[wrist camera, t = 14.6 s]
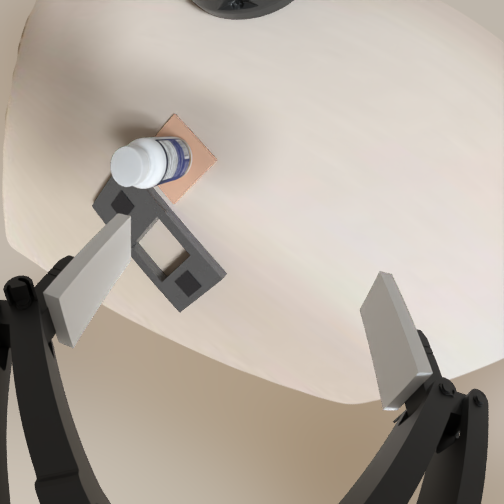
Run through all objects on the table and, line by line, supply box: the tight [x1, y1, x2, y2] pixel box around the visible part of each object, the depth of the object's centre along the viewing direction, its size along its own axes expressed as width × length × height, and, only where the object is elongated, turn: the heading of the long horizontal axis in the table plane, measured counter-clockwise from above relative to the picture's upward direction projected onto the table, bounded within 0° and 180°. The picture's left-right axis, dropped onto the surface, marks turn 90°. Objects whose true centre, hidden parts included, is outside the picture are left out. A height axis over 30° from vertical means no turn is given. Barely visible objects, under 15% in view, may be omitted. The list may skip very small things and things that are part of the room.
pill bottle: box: [110, 136, 192, 189], centre depth 30 cm, size 5×5×10 cm
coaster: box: [155, 114, 217, 204], centre depth 35 cm, size 8×8×1 cm
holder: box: [92, 176, 227, 312], centre depth 39 cm, size 20×9×2 cm, turn 43°
